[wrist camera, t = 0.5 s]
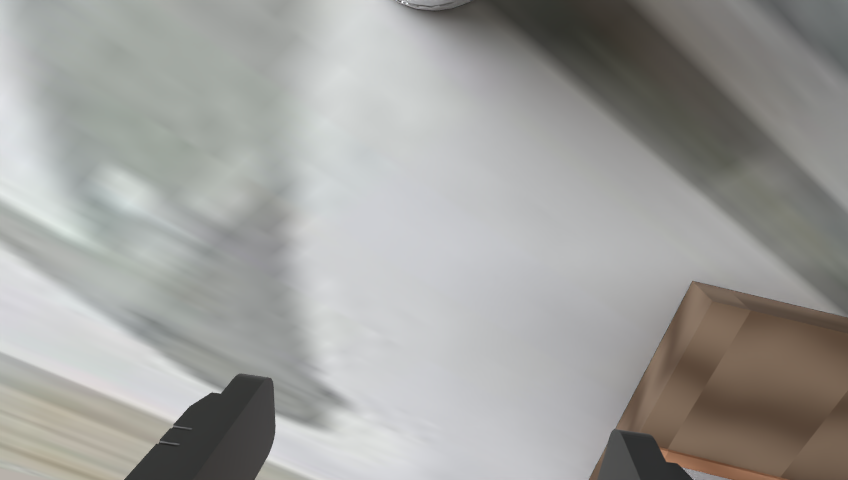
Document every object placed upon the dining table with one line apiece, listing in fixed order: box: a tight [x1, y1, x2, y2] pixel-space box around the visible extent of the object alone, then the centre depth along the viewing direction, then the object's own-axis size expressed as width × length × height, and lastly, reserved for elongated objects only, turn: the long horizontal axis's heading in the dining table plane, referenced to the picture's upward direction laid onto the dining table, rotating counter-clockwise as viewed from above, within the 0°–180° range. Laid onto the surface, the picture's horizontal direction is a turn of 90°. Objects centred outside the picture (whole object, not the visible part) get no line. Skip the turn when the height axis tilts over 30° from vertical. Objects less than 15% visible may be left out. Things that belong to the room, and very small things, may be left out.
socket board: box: [589, 281, 848, 480], centre depth 29 cm, size 22×26×3 cm
